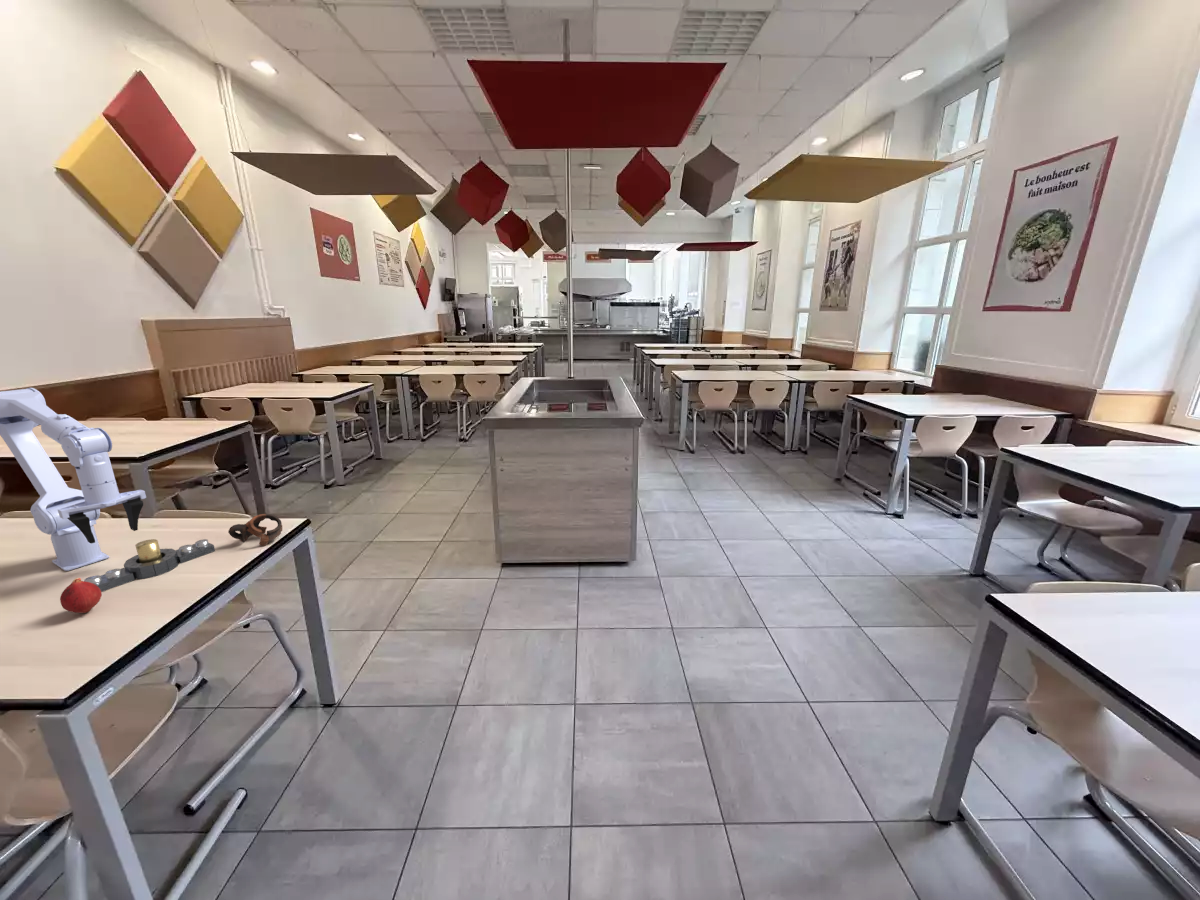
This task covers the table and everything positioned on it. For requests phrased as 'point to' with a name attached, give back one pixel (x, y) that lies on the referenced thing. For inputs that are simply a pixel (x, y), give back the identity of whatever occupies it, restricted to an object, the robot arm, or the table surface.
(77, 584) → the onion
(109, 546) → the table surface
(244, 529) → the rusty ring shackle
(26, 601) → the table surface
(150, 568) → the studded flange bracket
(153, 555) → the pin
